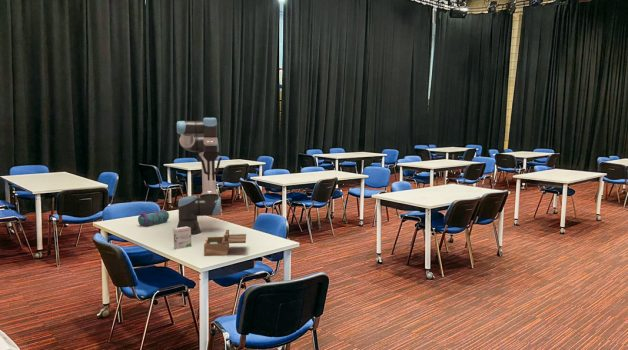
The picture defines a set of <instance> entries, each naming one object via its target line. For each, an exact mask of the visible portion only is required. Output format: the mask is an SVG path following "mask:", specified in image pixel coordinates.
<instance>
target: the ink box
mask: <svg viewBox="0 0 628 350" xmlns="http://www.w3.org/2000/svg"><path fill="white" fill-rule="evenodd" d="M172 230H173V247H174V250H176V249H177V250H179V249H184V248H191V247H192V235H191V228H190V227H180V228H177V227H173V229H172Z"/></svg>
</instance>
